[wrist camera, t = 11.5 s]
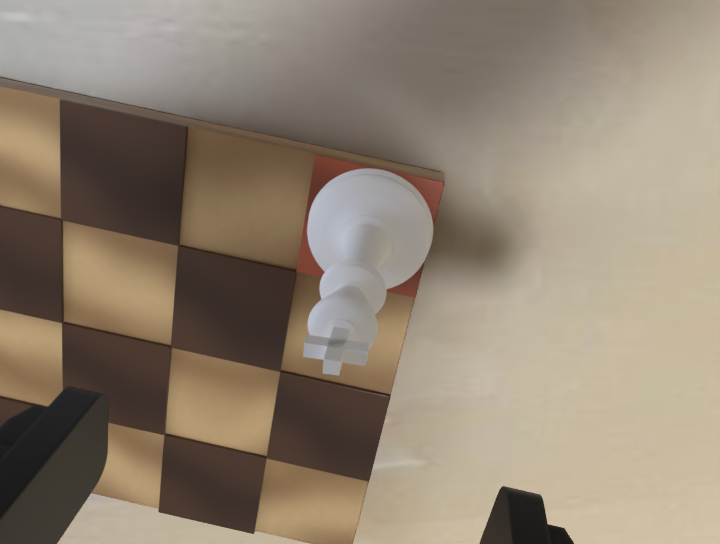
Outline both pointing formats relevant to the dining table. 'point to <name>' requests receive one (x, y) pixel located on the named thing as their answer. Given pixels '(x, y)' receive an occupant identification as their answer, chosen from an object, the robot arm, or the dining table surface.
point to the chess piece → (361, 258)
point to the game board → (188, 309)
